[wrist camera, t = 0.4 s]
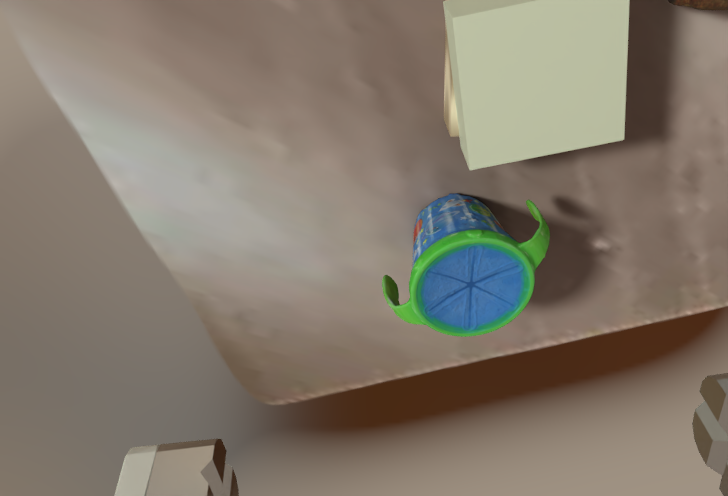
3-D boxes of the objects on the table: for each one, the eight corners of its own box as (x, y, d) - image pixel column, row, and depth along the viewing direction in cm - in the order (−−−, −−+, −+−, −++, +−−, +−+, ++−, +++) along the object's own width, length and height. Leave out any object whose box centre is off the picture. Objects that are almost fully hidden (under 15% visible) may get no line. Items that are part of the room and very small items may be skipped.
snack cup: (512, 146, 60) (544, 206, 52) (546, 233, 66) (579, 300, 58) (355, 215, 63) (361, 282, 55) (400, 292, 69) (411, 363, 61)
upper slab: (443, 1, 49) (452, 18, 46) (609, -35, 48) (630, -20, 45) (460, 146, 56) (469, 170, 53) (606, 117, 55) (624, 139, 52)
